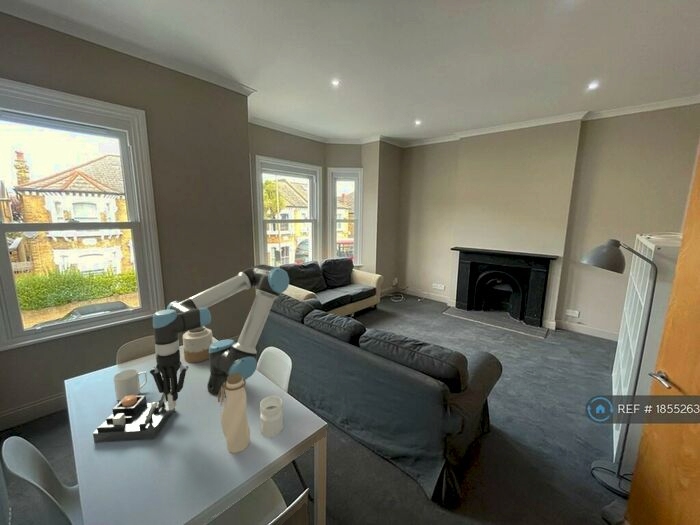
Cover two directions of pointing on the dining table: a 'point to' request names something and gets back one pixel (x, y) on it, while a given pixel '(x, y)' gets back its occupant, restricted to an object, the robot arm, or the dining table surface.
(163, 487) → the dining table surface
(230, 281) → the robot arm
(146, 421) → the lever
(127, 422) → the panel
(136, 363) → the dining table surface
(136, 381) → the mug
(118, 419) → the slider
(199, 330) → the vase
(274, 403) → the cream cylinder
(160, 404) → the lever
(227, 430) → the water bottle
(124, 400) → the button
